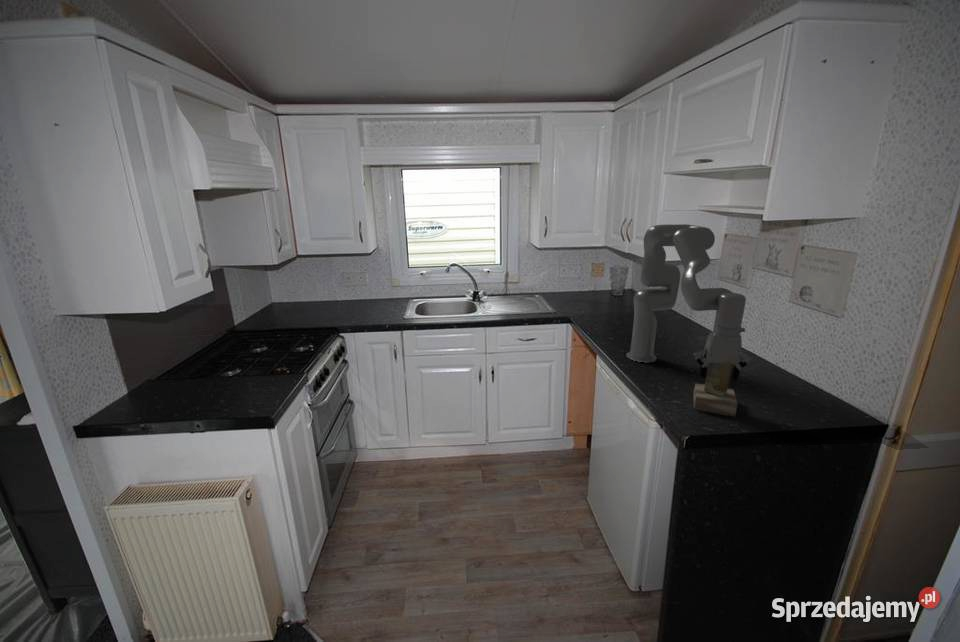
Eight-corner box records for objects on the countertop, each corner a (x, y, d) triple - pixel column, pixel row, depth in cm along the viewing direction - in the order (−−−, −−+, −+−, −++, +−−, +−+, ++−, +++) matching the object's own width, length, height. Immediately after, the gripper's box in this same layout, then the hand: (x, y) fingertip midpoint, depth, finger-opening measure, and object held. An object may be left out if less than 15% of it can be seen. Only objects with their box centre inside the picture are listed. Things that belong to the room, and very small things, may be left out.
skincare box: (703, 391, 140) (709, 358, 137) (707, 387, 143) (713, 355, 139) (723, 397, 135) (730, 363, 132) (727, 393, 138) (734, 360, 135)
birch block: (693, 395, 148) (695, 383, 146) (731, 402, 143) (733, 389, 141) (693, 410, 137) (696, 397, 136) (734, 418, 132) (737, 404, 131)
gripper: (750, 328, 134) (741, 375, 139) (694, 325, 137) (687, 371, 142) (760, 335, 127) (750, 385, 132) (701, 332, 130) (693, 380, 135)
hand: (717, 378), depth 137 cm, fingers open, 9 cm apart
